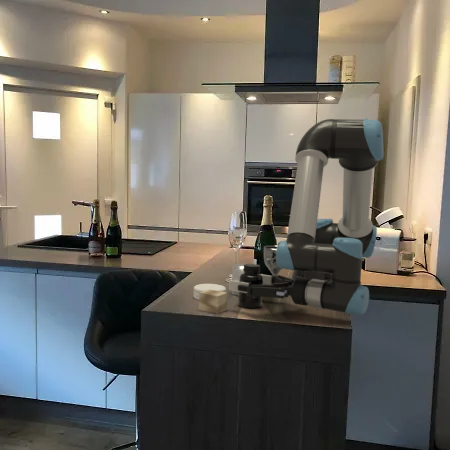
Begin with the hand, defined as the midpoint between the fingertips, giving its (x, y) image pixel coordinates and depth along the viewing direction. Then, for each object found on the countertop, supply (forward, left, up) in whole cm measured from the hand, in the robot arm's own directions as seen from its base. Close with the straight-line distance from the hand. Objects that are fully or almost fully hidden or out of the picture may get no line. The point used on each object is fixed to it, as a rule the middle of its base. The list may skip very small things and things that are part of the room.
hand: (241, 281), depth 144 cm
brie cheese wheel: (+10, -5, -7) cm, 13 cm away
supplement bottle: (-3, +1, -7) cm, 8 cm away
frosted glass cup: (0, -13, -7) cm, 14 cm away
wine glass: (-10, -17, -7) cm, 21 cm away
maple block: (+7, +8, -7) cm, 13 cm away
